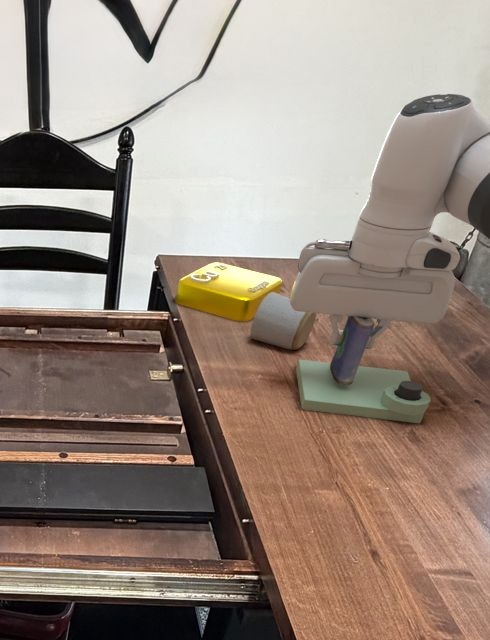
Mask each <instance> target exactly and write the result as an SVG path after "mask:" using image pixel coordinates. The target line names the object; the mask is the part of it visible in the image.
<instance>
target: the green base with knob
mask: <svg viewBox="0 0 490 640" xmlns="http://www.w3.org/2000/svg"><path fill="white" fill-rule="evenodd" d="M330 364H331V362H325V361H317V360H309V359H298V360H297V364H296V366H295V373H296V379H297V387H298V393H299V400H300V407H301V410H305V411H314V412H322V413H330V414H338V415H345V416H355V417H364V418H371V419H379V420H388V421H395V422H406V423H412V424H421V422H422V420H423V418H424V415H425V412H426V411H427V410H428V408H429V405H430V403H431V401H432V399H431V396H430V395H429V393H427V392H425V391H424V390H422V392H421V394H420V396H419V399H418V400H416V401H409V400H404V399H401V398H399V397H397V396H396V395H395V394H396V391H397V389H398V387H399V384H400V382H402V381H412V380H411V378H410V375H409V373H408V371H407V370H400V369H389V368H380V367H373V366H372V367H371V366H362V365H359V366H358V369H357V372H356V374H355V377H354V380H353V383H352V384H350V385H346V384H345V383H344V382H343V381H342V382H343V384H345V385H341V384H338V383H337V382H336V381H335V380H334V378H333V375H332V373H331V370H330Z"/></svg>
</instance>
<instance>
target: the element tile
mask: <svg viewBox="0 0 490 640" xmlns="http://www.w3.org/2000/svg"><path fill="white" fill-rule="evenodd" d="M282 286H283V280H282V278H281V277H278V276H275V275H270V274H266V273H262V272H258V271H254V270H250V269H246V268H242V267H238V266H234V265H231V264H226V263H223V262H218V261H217V262H212V263H209V264H207V265H205V266H203V267H201V268H199V269H197V270H195V271H193V272H191V273H189V274H187V275H185V276H184V277H181V278H180V279H179V280H178V284H177V289H176V296H175V303H176V304H177V305H180V306H183V307H186V308H190V309H193V310H197V311H201V312H204V313H207V314H211V315H214V316H217V317H221V318H225V319H228V320H230V321H231V320H232V321H236V322H249V321H252V319H254V317H255V315H256V312H257V310H258V308H259V306H260V304H261V302H262V301H263V299H264V298H265V297H266V296H267V295H268V294H269V293H271V292H275V293H277V294H280V293H281V290H282Z"/></svg>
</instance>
